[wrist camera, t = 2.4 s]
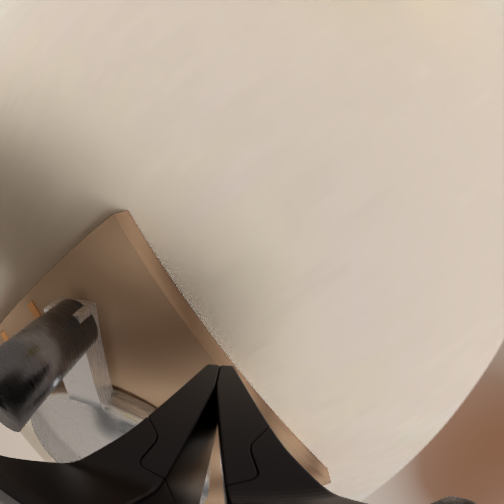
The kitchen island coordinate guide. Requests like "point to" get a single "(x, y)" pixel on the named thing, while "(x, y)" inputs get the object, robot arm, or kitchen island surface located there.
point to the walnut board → (143, 327)
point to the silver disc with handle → (66, 384)
